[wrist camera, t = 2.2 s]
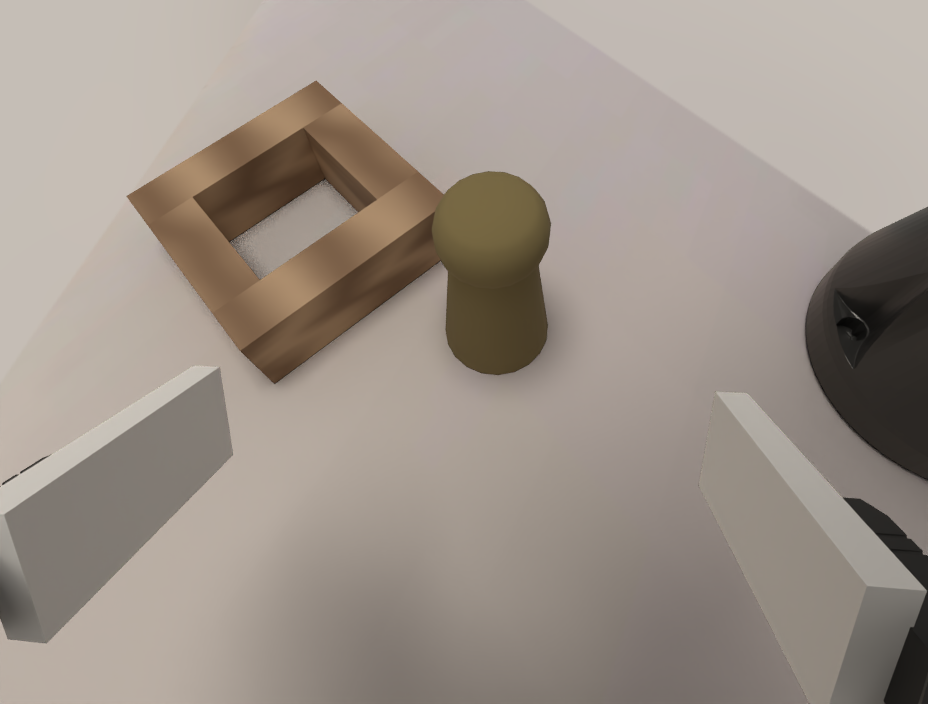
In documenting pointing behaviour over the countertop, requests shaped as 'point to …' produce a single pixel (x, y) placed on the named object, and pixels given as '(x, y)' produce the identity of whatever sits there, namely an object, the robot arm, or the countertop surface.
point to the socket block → (269, 188)
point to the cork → (493, 270)
